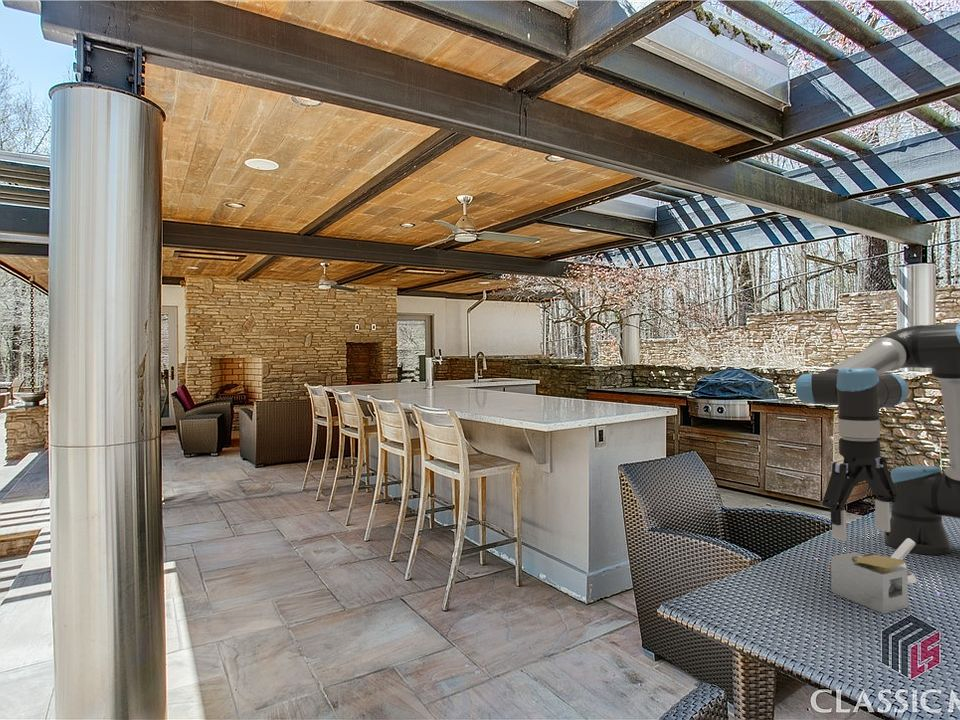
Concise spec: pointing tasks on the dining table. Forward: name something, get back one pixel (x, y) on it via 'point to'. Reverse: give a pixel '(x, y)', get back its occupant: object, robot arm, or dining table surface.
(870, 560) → the plate
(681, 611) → the dining table surface
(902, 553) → the grey ring with handle
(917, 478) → the robot arm
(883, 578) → the block
